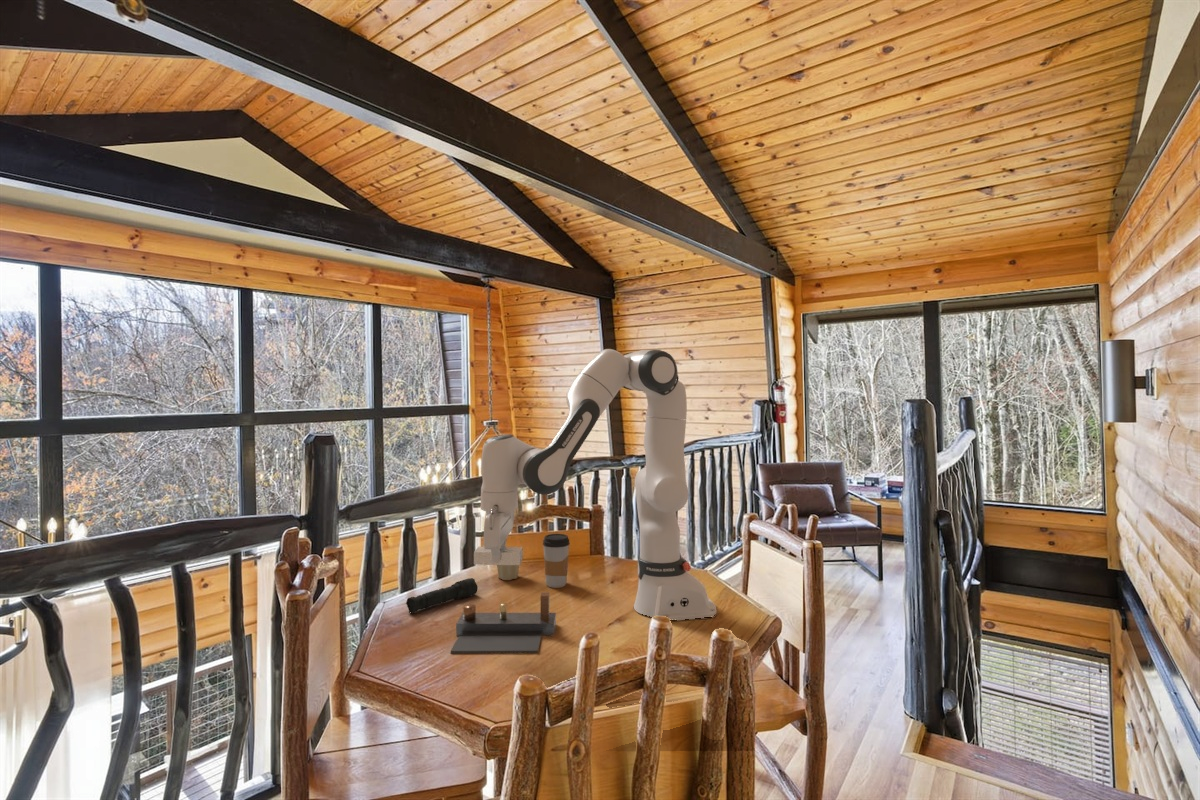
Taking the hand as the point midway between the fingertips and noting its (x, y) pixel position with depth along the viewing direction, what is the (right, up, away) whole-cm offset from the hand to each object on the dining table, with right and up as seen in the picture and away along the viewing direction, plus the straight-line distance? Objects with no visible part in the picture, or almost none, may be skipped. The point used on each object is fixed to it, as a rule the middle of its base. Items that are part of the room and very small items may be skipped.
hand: (498, 558), depth 140 cm
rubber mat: (0, -20, -4) cm, 20 cm away
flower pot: (-5, -19, +46) cm, 50 cm away
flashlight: (-20, -20, +23) cm, 36 cm away
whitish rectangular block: (0, -1, 0) cm, 1 cm away
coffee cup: (+11, -19, +39) cm, 45 cm away
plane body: (+1, -19, +5) cm, 20 cm away
